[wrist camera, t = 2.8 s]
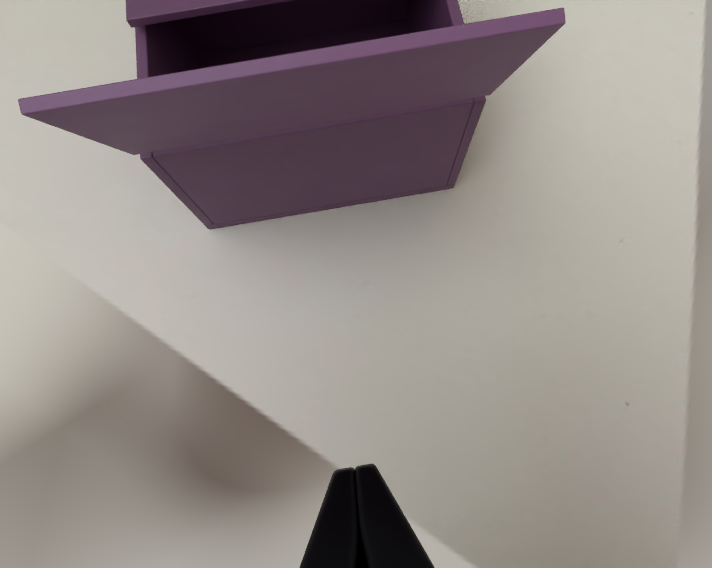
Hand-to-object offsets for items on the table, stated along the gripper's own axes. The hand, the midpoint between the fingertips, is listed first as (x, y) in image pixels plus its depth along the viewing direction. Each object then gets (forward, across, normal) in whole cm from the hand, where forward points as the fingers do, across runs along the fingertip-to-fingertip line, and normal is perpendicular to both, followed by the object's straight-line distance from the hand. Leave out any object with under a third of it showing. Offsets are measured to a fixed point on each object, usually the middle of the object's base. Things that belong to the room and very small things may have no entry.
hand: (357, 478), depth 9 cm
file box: (+22, 0, -4) cm, 22 cm away
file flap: (+9, 0, -6) cm, 11 cm away
